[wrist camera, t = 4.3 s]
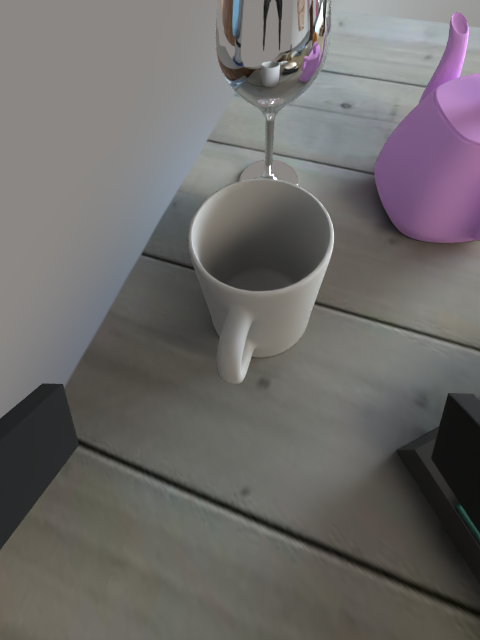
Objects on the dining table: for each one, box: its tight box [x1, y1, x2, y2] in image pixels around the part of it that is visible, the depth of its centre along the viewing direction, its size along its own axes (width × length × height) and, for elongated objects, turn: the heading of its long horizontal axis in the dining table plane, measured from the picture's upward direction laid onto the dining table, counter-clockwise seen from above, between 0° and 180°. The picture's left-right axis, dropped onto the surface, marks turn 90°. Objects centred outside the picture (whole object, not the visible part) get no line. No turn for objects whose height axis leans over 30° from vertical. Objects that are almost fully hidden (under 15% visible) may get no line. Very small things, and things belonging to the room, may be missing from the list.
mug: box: [188, 178, 334, 384], centre depth 22 cm, size 12×8×11 cm
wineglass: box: [216, 0, 331, 186], centre depth 26 cm, size 8×8×18 cm
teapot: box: [374, 12, 480, 243], centre depth 27 cm, size 13×20×11 cm
